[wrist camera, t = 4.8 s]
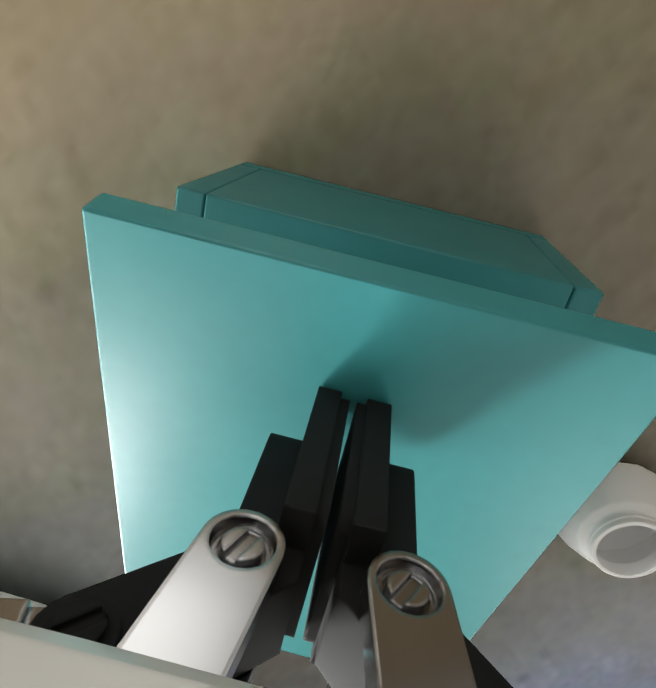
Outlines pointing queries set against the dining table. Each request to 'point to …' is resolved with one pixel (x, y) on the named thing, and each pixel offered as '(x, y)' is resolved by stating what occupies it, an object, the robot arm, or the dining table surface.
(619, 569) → the white jar
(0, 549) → the dining table surface
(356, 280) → the lunchbox lid
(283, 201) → the box
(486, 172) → the dining table surface
